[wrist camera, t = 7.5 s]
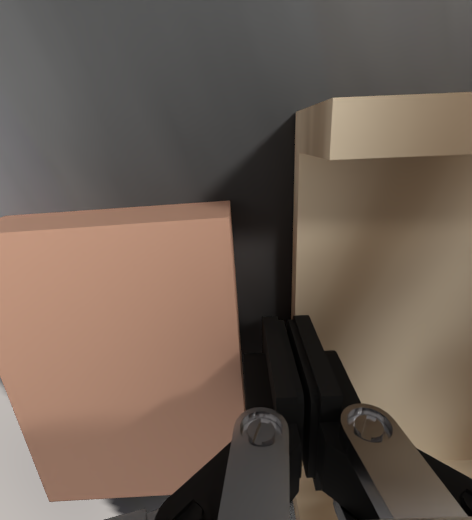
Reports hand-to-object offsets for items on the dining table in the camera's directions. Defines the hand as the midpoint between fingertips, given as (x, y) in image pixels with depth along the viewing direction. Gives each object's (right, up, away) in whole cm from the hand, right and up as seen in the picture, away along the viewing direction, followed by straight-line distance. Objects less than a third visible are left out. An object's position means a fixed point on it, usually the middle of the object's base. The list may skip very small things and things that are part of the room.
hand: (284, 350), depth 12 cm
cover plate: (-6, 0, +2) cm, 6 cm away
